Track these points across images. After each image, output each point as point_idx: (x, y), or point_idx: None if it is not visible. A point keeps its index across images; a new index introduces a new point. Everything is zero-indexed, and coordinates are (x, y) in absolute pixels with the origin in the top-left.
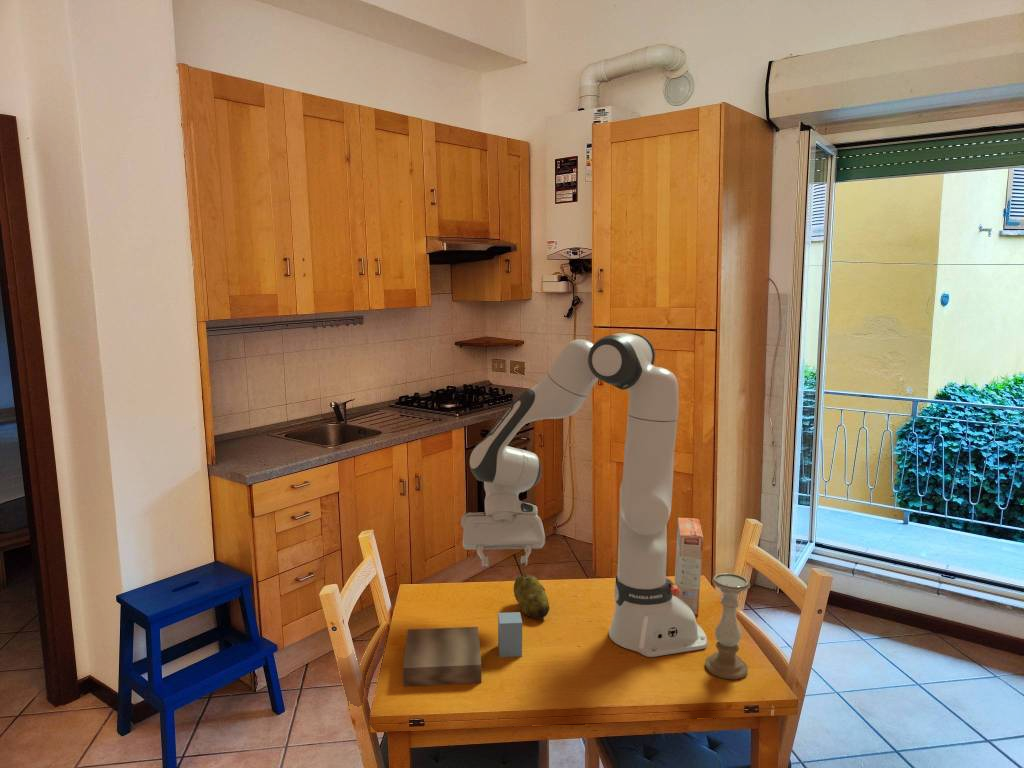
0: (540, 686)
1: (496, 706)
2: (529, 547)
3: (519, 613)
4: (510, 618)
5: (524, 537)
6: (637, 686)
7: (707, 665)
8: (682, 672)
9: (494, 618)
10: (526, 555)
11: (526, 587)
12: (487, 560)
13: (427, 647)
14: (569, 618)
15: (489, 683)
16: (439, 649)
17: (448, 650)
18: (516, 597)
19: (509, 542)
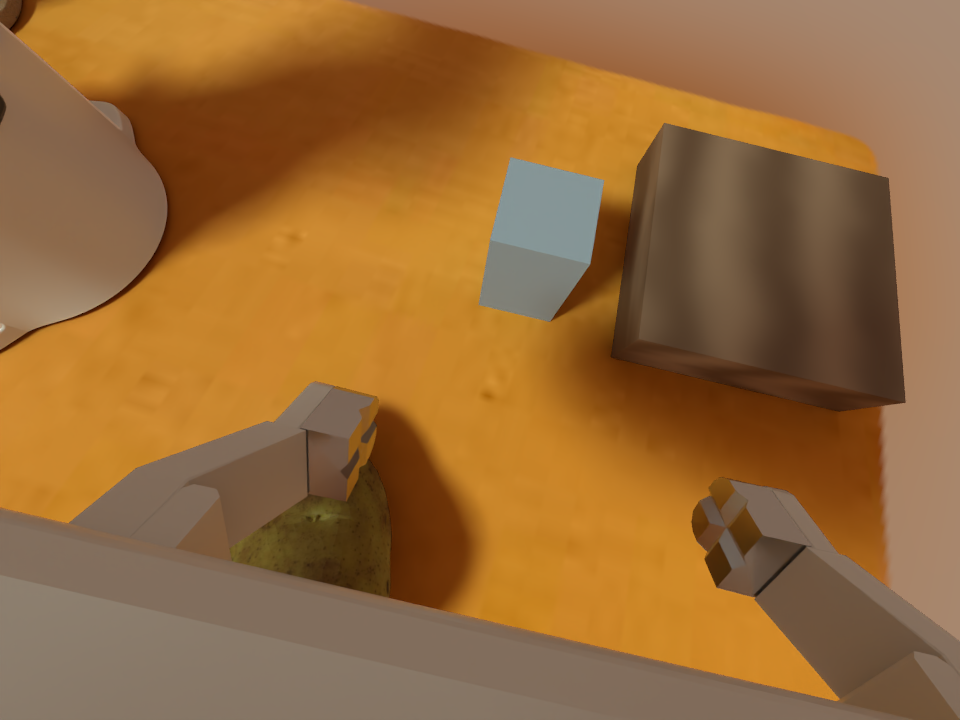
0: (493, 107)
1: (618, 79)
2: (140, 496)
3: (496, 229)
4: (549, 202)
5: (8, 689)
6: (255, 32)
7: (1, 8)
8: (93, 37)
9: (510, 520)
10: (280, 425)
11: (325, 573)
12: (749, 497)
13: (825, 259)
14: (214, 426)
15: (617, 157)
16: (786, 235)
17: (757, 222)
18: (389, 584)
19: (486, 634)
